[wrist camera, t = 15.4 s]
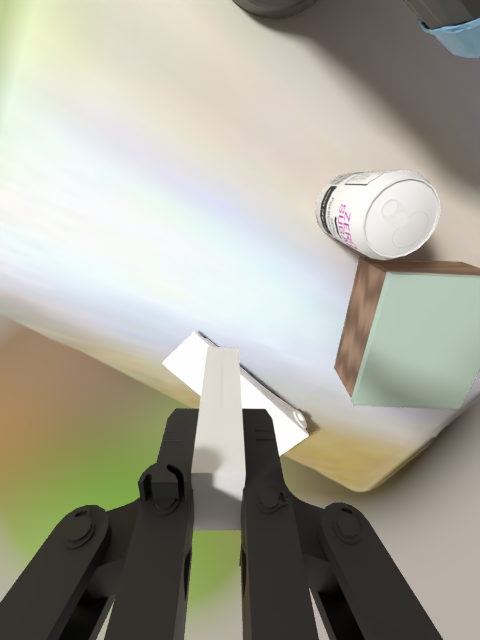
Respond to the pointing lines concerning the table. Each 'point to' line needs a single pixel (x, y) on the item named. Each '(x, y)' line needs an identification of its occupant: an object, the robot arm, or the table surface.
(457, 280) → the lid
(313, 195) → the table surface
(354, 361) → the walnut box
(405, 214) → the supplement can
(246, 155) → the table surface
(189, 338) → the white rectangular bar
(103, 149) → the table surface
